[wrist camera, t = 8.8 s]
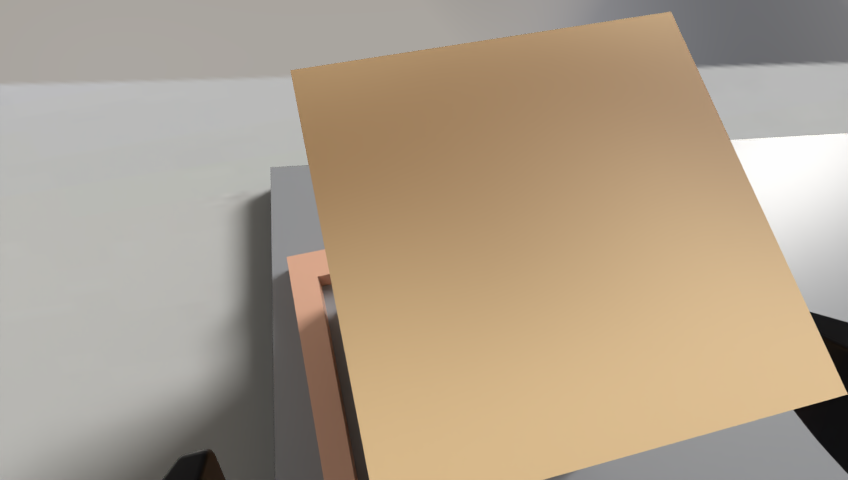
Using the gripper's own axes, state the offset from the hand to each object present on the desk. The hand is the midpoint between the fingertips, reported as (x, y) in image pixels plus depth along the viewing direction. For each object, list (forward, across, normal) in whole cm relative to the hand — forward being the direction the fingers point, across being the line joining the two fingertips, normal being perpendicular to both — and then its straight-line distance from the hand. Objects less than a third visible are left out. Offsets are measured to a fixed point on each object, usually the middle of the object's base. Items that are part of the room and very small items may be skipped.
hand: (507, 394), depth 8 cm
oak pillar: (+7, 0, +5) cm, 8 cm away
